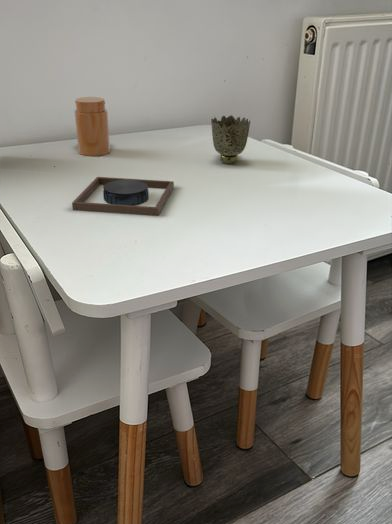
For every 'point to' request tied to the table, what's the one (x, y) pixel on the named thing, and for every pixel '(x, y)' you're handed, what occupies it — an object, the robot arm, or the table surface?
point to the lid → (125, 192)
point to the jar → (92, 126)
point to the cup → (230, 137)
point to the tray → (125, 209)
